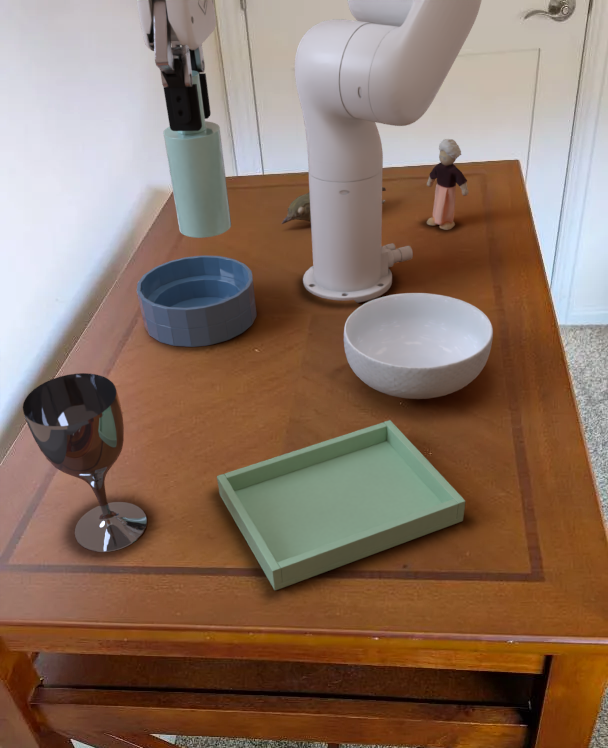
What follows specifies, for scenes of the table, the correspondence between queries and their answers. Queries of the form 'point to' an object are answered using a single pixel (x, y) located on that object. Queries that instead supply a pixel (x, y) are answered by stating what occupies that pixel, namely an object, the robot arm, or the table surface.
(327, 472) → the tray
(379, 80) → the robot arm
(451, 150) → the grandmother figurine
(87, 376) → the wine glass
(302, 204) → the decorative bird model
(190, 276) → the bowl
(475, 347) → the cereal bowl
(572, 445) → the table surface
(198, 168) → the bottle
